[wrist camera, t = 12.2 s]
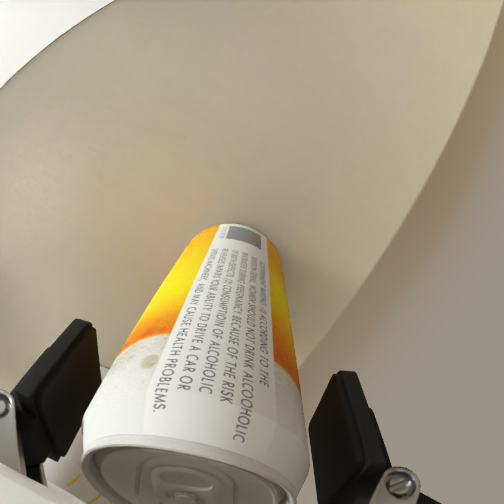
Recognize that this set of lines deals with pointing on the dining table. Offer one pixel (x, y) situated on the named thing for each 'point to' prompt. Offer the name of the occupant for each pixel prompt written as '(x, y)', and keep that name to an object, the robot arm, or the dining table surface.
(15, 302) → the dining table surface
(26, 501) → the robot arm
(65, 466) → the cup
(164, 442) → the beer can
